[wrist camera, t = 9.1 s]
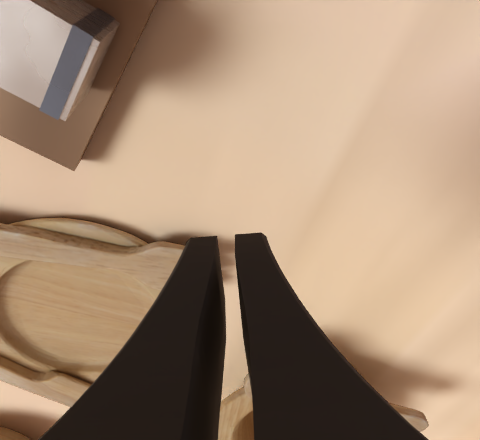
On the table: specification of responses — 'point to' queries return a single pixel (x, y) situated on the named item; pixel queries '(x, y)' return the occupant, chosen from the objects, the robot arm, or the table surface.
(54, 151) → the board
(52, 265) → the tableware set
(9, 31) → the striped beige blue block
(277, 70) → the table surface
